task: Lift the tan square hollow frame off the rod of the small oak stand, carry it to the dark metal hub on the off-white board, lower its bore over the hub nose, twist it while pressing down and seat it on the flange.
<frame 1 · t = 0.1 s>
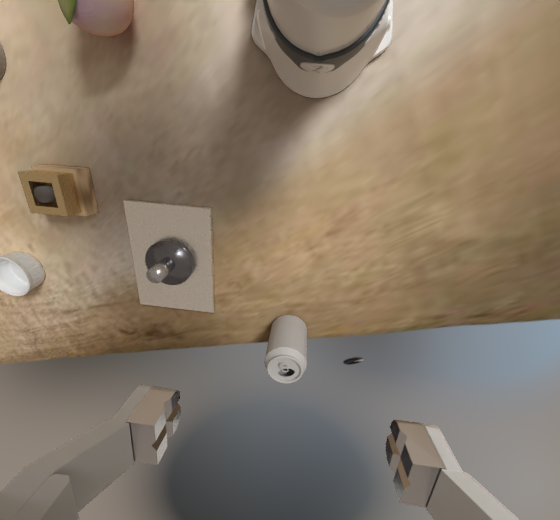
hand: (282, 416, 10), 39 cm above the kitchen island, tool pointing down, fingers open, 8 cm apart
tan square hollow frame: (59, 191, 46), point 3 cm above the kitchen island, touching stand
stand: (73, 189, 48), on the kitchen island
hub: (174, 259, 52), on the kitchen island
ramekin: (29, 267, 57), on the kitchen island
can: (289, 326, 56), on the kitchen island
decorative fruit: (123, 9, 37), on the kitchen island
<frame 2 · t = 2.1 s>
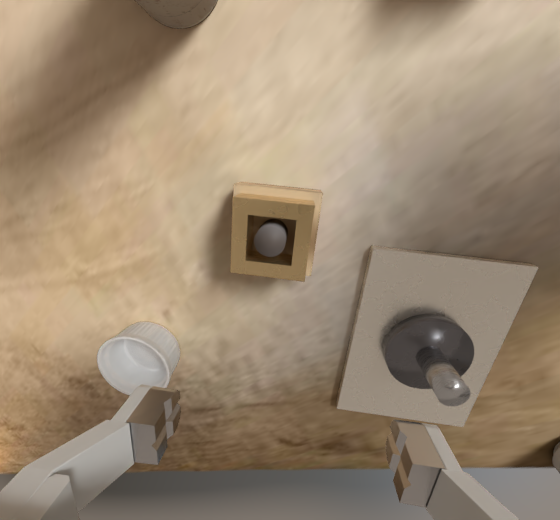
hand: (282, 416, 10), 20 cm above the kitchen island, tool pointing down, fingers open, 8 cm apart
tan square hollow frame: (274, 232, 25), point 3 cm above the kitchen island, touching stand
stand: (277, 225, 28), on the kitchen island
hub: (419, 342, 31), on the kitchen island
ramekin: (153, 344, 35), on the kitchen island
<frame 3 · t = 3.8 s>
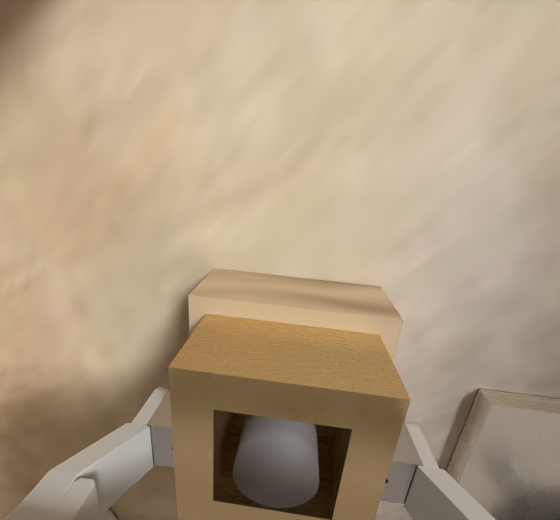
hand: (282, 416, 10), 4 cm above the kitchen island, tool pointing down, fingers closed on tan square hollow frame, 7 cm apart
tan square hollow frame: (283, 392, 11), point 3 cm above the kitchen island, touching gripper, stand
stand: (288, 348, 14), on the kitchen island
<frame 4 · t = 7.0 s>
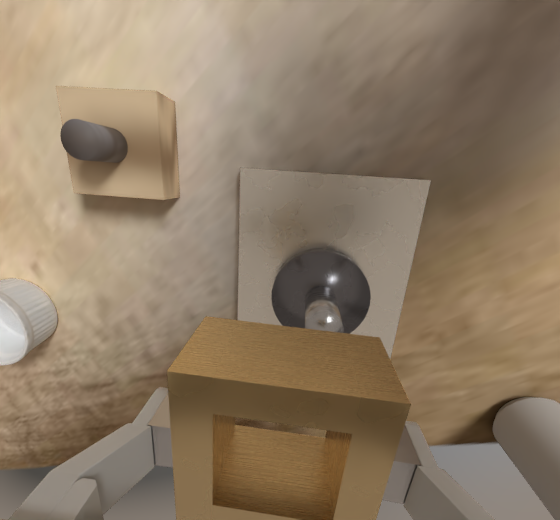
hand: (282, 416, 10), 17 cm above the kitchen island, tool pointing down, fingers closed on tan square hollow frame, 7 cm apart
tan square hollow frame: (283, 395, 11), point 16 cm above the kitchen island, touching gripper
stand: (134, 149, 24), on the kitchen island
hub: (318, 288, 27), on the kitchen island
ramekin: (29, 307, 31), on the kitchen island
can: (522, 416, 29), on the kitchen island
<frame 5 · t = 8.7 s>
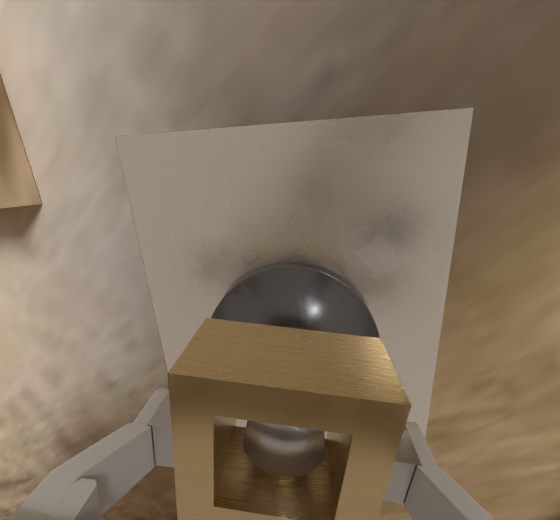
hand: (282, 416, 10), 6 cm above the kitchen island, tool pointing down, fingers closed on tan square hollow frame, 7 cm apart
tan square hollow frame: (284, 396, 11), point 5 cm above the kitchen island, touching gripper
hub: (293, 326, 16), on the kitchen island
when the fingers open (4 cm above the kitchen island, at t = 9.9 s): tan square hollow frame stays where it is, resting on hub.
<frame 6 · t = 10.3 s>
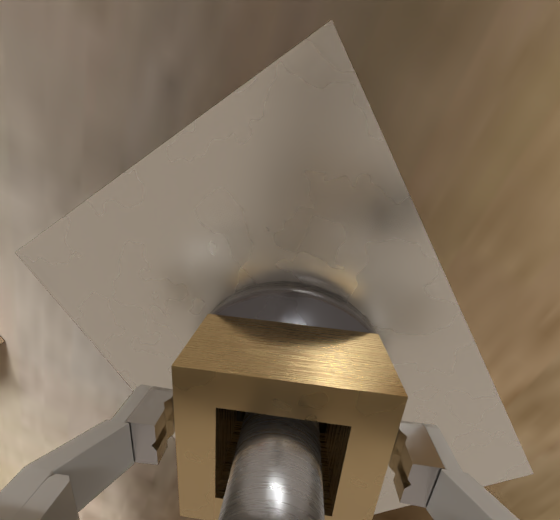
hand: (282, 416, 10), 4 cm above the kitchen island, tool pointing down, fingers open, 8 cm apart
tan square hollow frame: (284, 391, 11), point 2 cm above the kitchen island, touching hub
hub: (287, 354, 14), on the kitchen island
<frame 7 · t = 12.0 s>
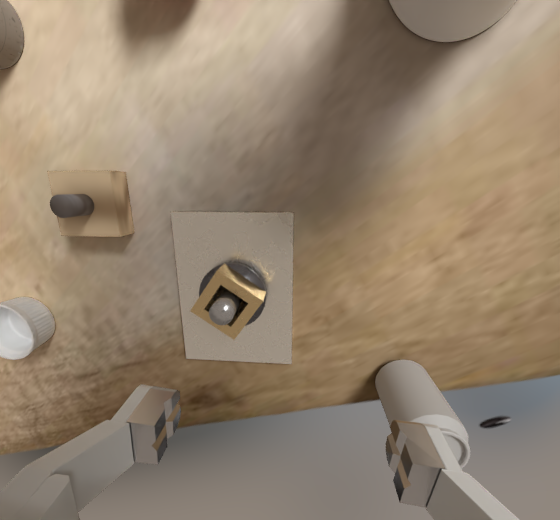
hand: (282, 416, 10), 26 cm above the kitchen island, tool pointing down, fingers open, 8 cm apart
tan square hollow frame: (232, 296, 35), point 2 cm above the kitchen island, touching hub
stand: (101, 203, 36), on the kitchen island
hub: (236, 290, 37), on the kitchen island
ramekin: (34, 318, 42), on the kitchen island
can: (398, 376, 39), on the kitchen island
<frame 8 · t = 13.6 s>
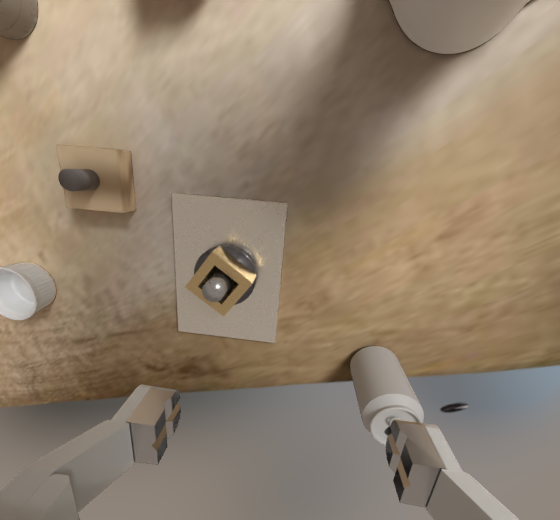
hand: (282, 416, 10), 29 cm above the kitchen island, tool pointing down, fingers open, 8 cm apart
tan square hollow frame: (224, 277, 38), point 2 cm above the kitchen island, touching hub
stand: (106, 179, 37), on the kitchen island
hub: (229, 271, 40), on the kitchen island
ramekin: (36, 283, 44), on the kitchen island
can: (372, 361, 43), on the kitchen island
thermos bottle: (8, 1, 32), on the kitchen island
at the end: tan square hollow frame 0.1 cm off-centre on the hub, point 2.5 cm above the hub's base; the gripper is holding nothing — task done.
